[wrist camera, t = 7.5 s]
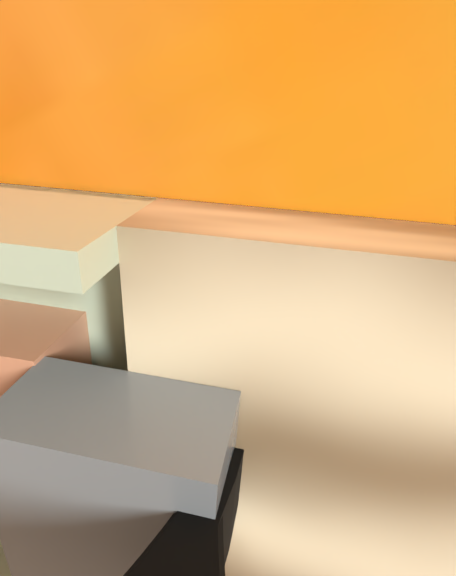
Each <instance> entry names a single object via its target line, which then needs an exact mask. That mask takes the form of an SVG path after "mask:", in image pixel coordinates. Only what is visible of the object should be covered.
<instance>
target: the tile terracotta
mask: <svg viewBox="0 0 456 576" xmlns="http://www.w3.org/2000/svg"><path fill="white" fill-rule="evenodd" d="M45 356H46V357H52V358H57V359H63V360H68V361H74V362H80V363H85V364H91V365H92V359H91V350H90V342H89V333H88V324H87V316H86V312H85V311H79V310H72V309H65V308H59V307H52V306H46V305H39V304H32V303H26V302H19V301H12V300H6V299H0V397H1V396H2V395H3V394H4V393H5V392H6V391H7V390H8V389H9V388H10V387H11V386H12V385H14V384H15V383H16V382H17V381H18V380H19V379H20V378H21V377H22V376H23V375H24V374H25V373H26V372H27V371H28V370H29V369H30V368H31V367H32V366H35V365H36V364H37V363H38V362H40V361H41V360H42V359H43V358H44V357H45Z"/></svg>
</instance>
